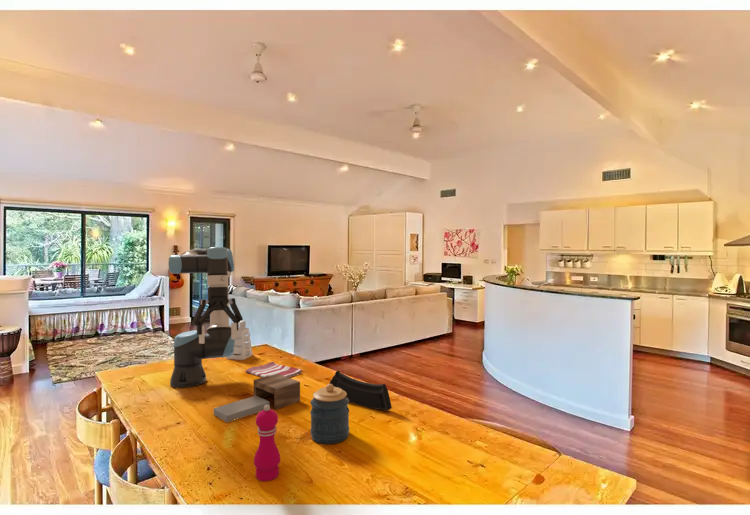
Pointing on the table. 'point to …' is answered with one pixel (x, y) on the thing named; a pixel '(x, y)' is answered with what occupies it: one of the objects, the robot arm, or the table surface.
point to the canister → (329, 415)
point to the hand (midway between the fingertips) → (218, 341)
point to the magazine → (363, 392)
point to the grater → (242, 343)
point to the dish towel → (273, 370)
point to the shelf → (278, 389)
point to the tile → (240, 408)
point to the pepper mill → (267, 446)
